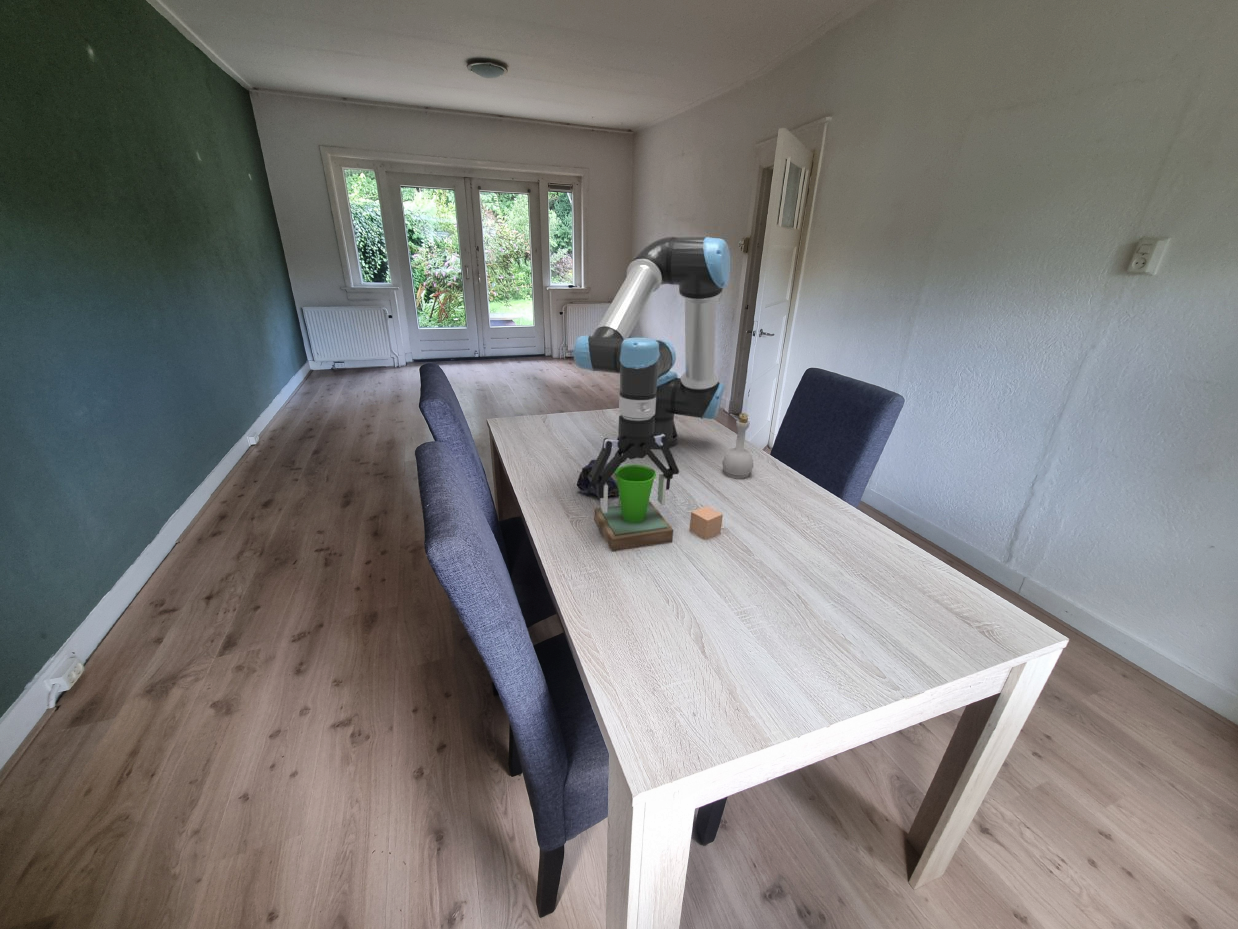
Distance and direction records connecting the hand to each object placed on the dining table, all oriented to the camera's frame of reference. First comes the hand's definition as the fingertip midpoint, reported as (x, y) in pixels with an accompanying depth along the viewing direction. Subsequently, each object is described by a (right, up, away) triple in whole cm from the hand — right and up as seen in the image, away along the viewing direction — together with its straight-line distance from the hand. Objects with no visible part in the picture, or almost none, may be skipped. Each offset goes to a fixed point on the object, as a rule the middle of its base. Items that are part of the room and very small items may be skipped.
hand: (633, 506), depth 110 cm
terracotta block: (+17, -6, +3) cm, 18 cm away
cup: (0, -3, +1) cm, 3 cm away
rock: (-8, +2, +21) cm, 22 cm away
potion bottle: (+31, +7, +33) cm, 46 cm away
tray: (0, -6, +2) cm, 6 cm away
